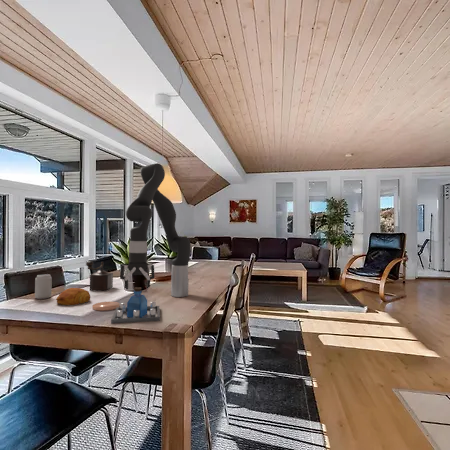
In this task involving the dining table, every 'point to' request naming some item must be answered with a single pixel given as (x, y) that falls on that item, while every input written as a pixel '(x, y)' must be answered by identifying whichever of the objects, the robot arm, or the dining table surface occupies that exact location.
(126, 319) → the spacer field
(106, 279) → the black coffee grinder
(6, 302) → the dining table surface
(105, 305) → the peach round disc
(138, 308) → the perfume bottle
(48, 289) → the can
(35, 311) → the dining table surface
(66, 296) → the croissant
